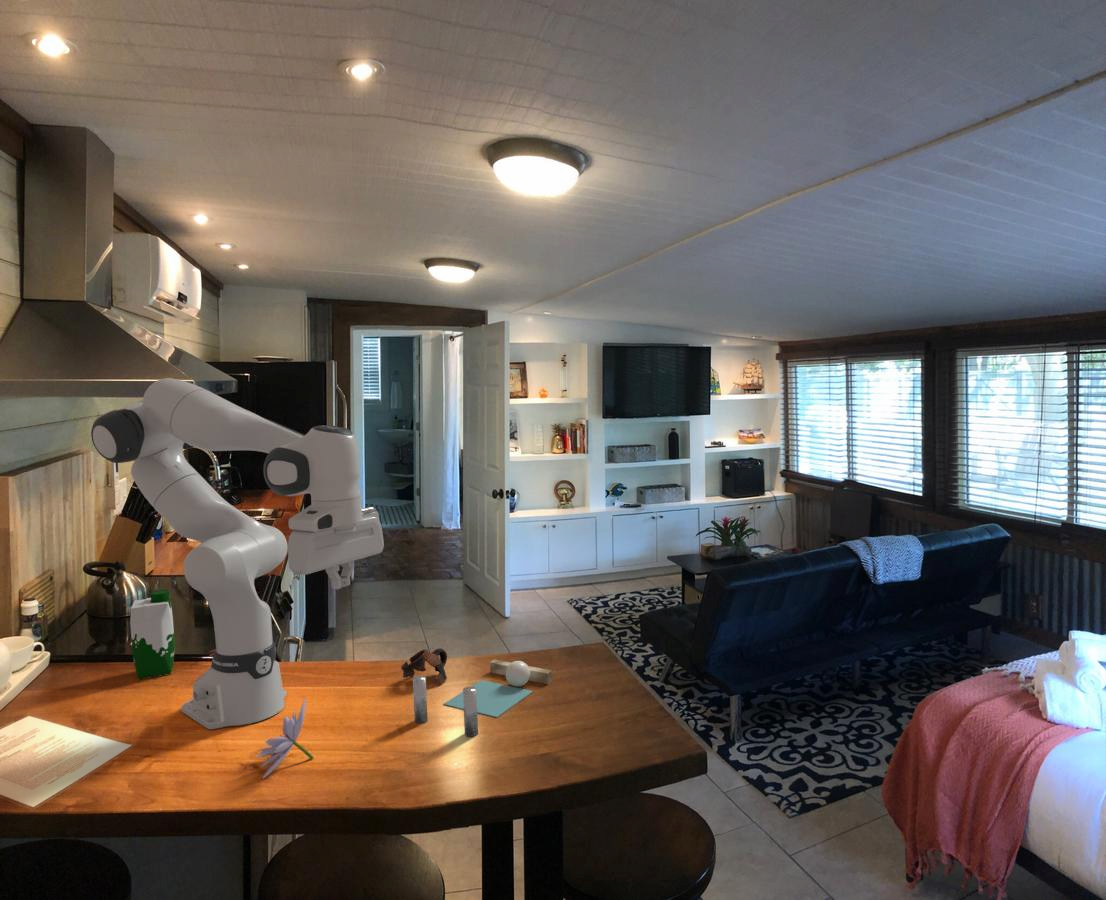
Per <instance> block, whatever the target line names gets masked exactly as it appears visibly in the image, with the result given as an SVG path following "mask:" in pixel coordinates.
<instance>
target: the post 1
mask: <svg viewBox="0 0 1106 900" xmlns="http://www.w3.org/2000/svg"><path fill="white" fill-rule="evenodd" d="M412 690H413V691H412V693H413V695H412V696H413V713H414V715H413V716H414V723H415V724H417V725H420V724H425V723H427V722H428V719H429V718H428V699H427V698H428V697H427V696H428V695H427V677H426V676H425V675H416V676H415V675H414V676H413V678H412Z"/></svg>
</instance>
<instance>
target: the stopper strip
mask: <svg viewBox="0 0 1106 900" xmlns="http://www.w3.org/2000/svg"><path fill="white" fill-rule="evenodd" d="M510 663H511V662H510V661H509V662H508V661H505V660H498V659H493V660H491V661H490V662H489V672H490V673H491V674H496V675H501V676H505V677H506V669H507V667H508V665H509V664H510ZM528 667H529V669H530V678H529V680H528V682H534V683H538V684H545V685H549V684H551V683H552V682H553V670H552V669H545V668H540V667H537V666H536V667H535V666H530V665H528Z"/></svg>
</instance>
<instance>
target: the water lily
mask: <svg viewBox="0 0 1106 900" xmlns="http://www.w3.org/2000/svg"><path fill="white" fill-rule="evenodd" d="M306 698H307V697H304V700H303V702H302V705H301V707H300V711H299V714H298V716H296V711H295V710H293V713H292V718H289V717H288V716H285V717H284V718H283V723H282V734H283V735H281V734H280V735H279V736H277V737H272V738H270V739H267V740H266V741H264V744H265V745H267V746H269V747H264V748H261V749H258V750H257V751H258V752H259V753H258V754H257V755H256V757H255V758H262V757H268V756H271V755H272V756H271V757H269V758H268V759H267V760H266V761H265V762H263V764H262V765H261V766H260V768H263V767H265V766H267V765H270V764H271V763H272V765H270V766H269V768H268V769H267V771H266V772H265V774H264V776H263V777H262V780H264V779H266V778H267V777H268V776H269V775H270V774H271V773H272V772H273V771H274V770H275V769H276V768H277V767H278V766H279V765H280V764H281V763H282V762H283V760H284V759H285V758H286V757H287V755H288V754H289V752H290V751H291V749H292V747H293V746H295V747H297V749H299V750H300V751H301V752H303V753H304V755H306V756H307V757H308V758H309V759H310V760H311V761H312V760H314V755H312V754H311V753H310V752H309V751H308V750H307V749H305V747H303V746H302V745H301V744H300V743H299V742H297V739H298V737H299V735H300V733H301V731H302V727H303V724H304V722H305V721H304V720H305V712H306V706H307V705H306V703H307V701H306V700H307V699H306Z"/></svg>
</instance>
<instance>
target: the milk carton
mask: <svg viewBox="0 0 1106 900" xmlns="http://www.w3.org/2000/svg"><path fill="white" fill-rule="evenodd" d="M171 599H172V598H171V596H170V591H169V590H168V589H159V590H156V591H152V592H150V597H147V598H145V599H144V598H143V599H135V600H134V601H133V603H132V605H131V607H130V622H129V623H130V634H131V636H130V637H131V647H132V649H131V651H132V659H133V664H134V669H135V672H136V676H137V680H138V679H140V680H144V679H143V678H146V679H149V678H148V677H152V678H155V677H154V676H158V677H160V676H159V675H164V676H166V675H165V674H169V675H171V674H172V673H171V672H173V667H174V661H175V649H176V644H175V643H176V641H175V631H174V616H173V608H172V602H171V601H172V600H171ZM170 673H171V674H170Z"/></svg>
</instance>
